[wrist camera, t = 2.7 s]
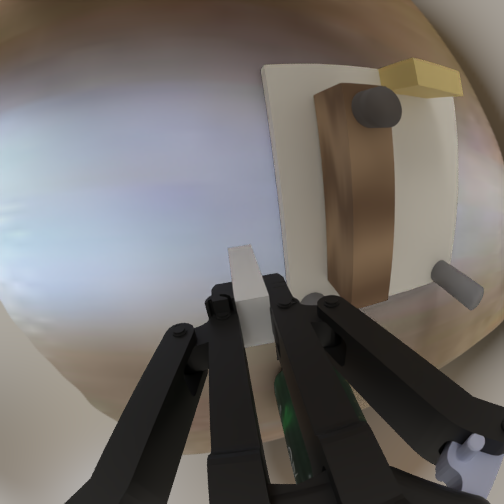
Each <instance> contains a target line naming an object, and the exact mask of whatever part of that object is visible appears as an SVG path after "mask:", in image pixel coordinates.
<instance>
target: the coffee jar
mask: <svg viewBox="0 0 504 504" xmlns="http://www.w3.org/2000/svg"><path fill="white" fill-rule="evenodd" d="M333 368H334V367H333ZM334 370H335V372H336V374H337V377H338V379H339V381H340V383H341V385H342V387H343V389H344V391H345V393H346V395H347V397H348V399H349V401H350V403H351V405H352V407H353V409H354V411H355V413H356V415H357V417H358V419H359V420H360V421H365V422H366V423H367V421H366V419H365V417H364V415H363V413H362V411H361V408H360V406H359V404H358V402H357V400H356V398H355V396H354V393H353V391H352V389H351V387H350V385H349V383H348V381H347V380H346V379H345V378H344V377H343V376H342V375H341V374H340V373H339V372H338V371H337V370H336V369H335V368H334ZM274 390H275V396H276V401H277V405H278V410H279V414H280V418H281V422H282V426H283V430H284V435H285V439H286V444H287V448H288V453H289V457H290V461H291V466H292V469H293V473H294V477H295V481H296V484H299V483H302V482H304V481H306V480H308V479H310V478H312V477H313V473H312V467H311V463H310V460H309V457H308V453H307V450H306V447H305V443H304V440H303V437H302V433H301V430H300V427H299V423H298V420H297V417H296V414H295V410H294V407H293V404H292V400H291V397H290V394H289V390H288V387H287V384H286V380H285V377H284V374H283V370H282V371H281V372H280V373H279V374H278V375H277V376H276V378H275V382H274Z"/></svg>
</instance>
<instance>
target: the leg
mask: <svg viewBox="0 0 504 504" xmlns="http://www.w3.org/2000/svg"><path fill="white" fill-rule="evenodd" d="M313 97H314V104H315V111H316V118H317V126H318V134H319V143H320V152H321V162H322V173H323V185H324V199H325V216H326V237H327V277H328V281H329V282H330V284H331V285H332V286H333V288H334V289H335V290H336V291H337V293H338V294H339V295H340V297H342V298H344V299H345V300H346V301H348V302H349V303H351V304H352V305H353V306H355V307H356V308H357V309H358V308H362V307H365V306H369V305H372V304H376V303H379V302H383V301H386V300H388V295H389V287H390V279H391V269H392V258H393V244H394V224H395V170H394V150H393V137H392V127H394V126H395V125H397V124H398V122H399V121H400V119H401V116H402V107H401V103H400V100H399V98H398V97H397V95H396V94H395V93H394V92H393V91H392V90H390V89H389V88H387V87H386V86H379V85H369V84H357V83H339V84H337V85H334V86H332V87H330V88H328V89H326V90H323V91H321V92H319V93H317V94H315V95H313Z"/></svg>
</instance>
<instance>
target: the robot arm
mask: <svg viewBox="0 0 504 504" xmlns="http://www.w3.org/2000/svg"><path fill="white" fill-rule="evenodd" d="M228 253H229V262H230V270H231V277H232V282H228V283H223V284H217V285H215V286H214V287H213V289H212V296H210V297H208V298H207V299H206V301H205V306H206V310H207V313H208V317H209V321H208V322H207V323H205V324H204V325H201V326H199V327H196V328H194V327H193V326H192V325H191V324H188V323H179V324H176V325H173V326H172V327H170V328H169V329H168V330H167V331H166V333H165V335H164V337H163V339H162V340H161V342H160V344H159V346H158V348H157V349H156V351H155V353H154V355H153V357H152V358H151V360H150V362H149V364H148V366H147V368H146V369H145V371H144V373H143V375H142V377H141V379H140V381H139V383H138V384H137V386H136V388H135V390H134V392H133V394H132V396H131V398H130V400H129V402H128V403H127V405H126V407H125V409H124V411H123V413H122V415H121V417H120V419H119V421H118V423H117V425H116V427H115V429H114V431H113V433H112V435H111V437H110V439H109V441H108V443H107V445H106V447H105V449H104V451H103V453H102V455H101V457H100V460H99V462H98V464H97V466H96V468H95V471H94V472H93V474H92V477H91V479H89V480H88V481H87V482H86V483H85V484H84V485H83V486H82V488H80V489H79V490H78V491H77V492H76V493H75V494H74V495H73V496H72V497H71V498H70V499H69V500H68V501H67V502H66V503H65V504H167V501H168V498H169V495H170V492H171V488H172V485H173V482H174V479H175V475H176V472H177V469H178V466H179V463H180V459H181V456H182V453H183V450H184V447H185V443H186V440H187V437H188V434H189V431H190V427H191V424H192V421H193V418H194V415H195V412H196V408H197V405H198V402H199V399H200V396H201V393H202V389H203V386H204V383H205V380H206V377H207V374H208V369H209V404H210V432H211V454H210V455H208V458H207V472H208V489H209V503H210V504H490V503H489V502H488V501H487V500H486V499H487V496H488V495H489V492H490V490H491V488H492V486H493V483H494V481H495V478H496V476H497V473H498V471H499V468H500V465H501V462H502V459H503V456H504V407H502V406H499V405H496V404H493V403H489V402H487V401H484V400H481V399H478V398H476V397H473V396H472V395H470V394H469V393H468V392H466V391H465V390H464V389H463V388H461V387H460V386H459V385H457V384H456V383H455V382H453V381H452V380H451V379H450V378H449V377H447V376H446V375H445V374H443V373H442V372H441V371H440V370H438V369H437V368H436V367H434V366H433V365H432V364H430V363H429V362H428V361H427V360H425V359H424V358H423V357H421V356H420V355H419V354H417V353H416V352H415V351H413V350H412V349H411V348H409V347H408V346H407V345H405V344H404V343H403V342H402V341H400V340H399V339H398V338H396V337H395V336H394V335H392V334H391V333H390V332H388V331H387V330H386V329H384V328H383V327H382V326H380V325H379V324H378V323H376V322H375V321H373V320H372V319H371V318H369V317H368V316H367V315H365V314H364V313H363V312H361V311H360V310H359V309H357V308H356V307H355V306H353V305H352V304H351V303H349V302H348V301H346V300H345V299H344V298H342V297H340V296H336V295H327V296H323V297H322V298H320V299H319V300H318V301H317V305H303V304H301V303H300V302H299V300H298V299H297V298H294V297H293V296H292V294H291V292H290V290H289V288H288V286H287V284H286V282H285V280H284V278H283V276H281V275H280V274H278V273H275V274H269V275H264V276H262V275H261V272H260V269H259V266H258V263H257V261H256V258H255V255H254V252H253V249H252V247H251V244H249V245H244V246H238V247H232V248H228ZM274 339H275V341H274ZM273 342H275V343H276V352H277V360H280V364H281V367H282V370H283V374H284V377H285V380H286V384H287V387H288V390H289V394H290V397H291V400H292V404H293V407H294V410H295V414H296V417H297V420H298V423H299V427H300V430H301V433H302V437H303V440H304V443H305V447H306V450H307V453H308V457H309V460H310V463H311V467H312V473H313V477H312V478H310V479H308V480H306V481H304V482H302V483H299V484H271V483H270V479H269V475H268V470H267V465H266V460H265V455H264V450H263V445H262V440H261V434H260V429H259V424H258V418H257V413H256V408H255V402H254V397H253V391H252V385H251V380H250V374H249V368H248V362H247V357H246V352H245V348H247V347H252V346H258V345H263V344H268V343H273ZM333 367H334V368H335V369H336V370H337V371H338V372H339V373H340V374H341V375H342V376H343V377H344V378H345V379H346V380H347V381H348V383H349V384H350V385H351V386H352V387H353V388H354V389H355V390H356V391H357V392H358V393H359V394H360V395H361V396H362V397H363V398H364V399H365V400H366V401H367V403H368V404H369V405H370V406H371V407H372V408H373V409H374V410H375V411H376V412H377V413H378V414H379V415H380V416H381V417H382V418H383V419H384V420H385V421H386V422H387V423H388V424H389V425H390V426H391V427H392V428H393V429H394V430H395V431H396V433H397V434H398V435H400V437H401V438H402V439H404V441H405V442H406V443H407V444H408V445H409V446H410V447H411V448H412V449H413V450H414V451H415V452H417V453H418V454H419V455H420V456H421V457H422V458H424V459H426V460H427V461H429V462H430V463H432V464H434V465H436V469H435V470H436V474H435V475H436V479H437V480H438V481H443V482H444V483H445V484H446V485H447V487H446V486H443V485H440V484H437V483H434V482H431V481H428V480H425V479H423V478H420V477H417V476H414V475H412V474H410V473H407V472H405V471H402V470H400V469H397V468H395V467H392V466H389V464H388V462H387V460H386V458H385V456H384V454H383V452H382V450H381V448H380V446H379V444H378V442H377V440H376V438H375V436H374V434H373V432H372V430H371V428H370V426H369V425H368V423H366V422H365V421H360V420H359V419H358V417H357V415H356V413H355V411H354V409H353V407H352V405H351V403H350V401H349V399H348V397H347V395H346V393H345V391H344V389H343V387H342V385H341V383H340V381H339V379H338V377H337V374H336V372H335V370H334V368H333Z"/></svg>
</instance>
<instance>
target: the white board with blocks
mask: <svg viewBox="0 0 504 504" xmlns="http://www.w3.org/2000/svg"><path fill="white" fill-rule="evenodd" d="M261 76H262V82H263V89H264V95H265V102H266V109H267V116H268V123H269V130H270V137H271V145H272V152H273V160H274V168H275V176H276V185H277V193H278V202H279V211H280V220H281V229H282V239H283V249H284V259H285V270H286V281H287V286H288V288H289V290H290V292H291V294H292V296H293V297H294V298H297V299H298V300H299V302H300V303H301V304H303V305H317V301H318V300H319V299H320V298H322V297H323V296H327V295H336V296H340V295H339V294H338V293H337V291H336V290H335V289H334V288H333V286H332V285H331V284H330V282H329V281H328V277H327V237H326V216H325V199H324V185H323V173H322V162H321V152H320V143H319V134H318V126H317V118H316V111H315V104H314V97H313V95H315V94H317V93H319V92H321V91H323V90H326V89H328V88H330V87H332V86H334V85H337V84H339V83H357V84H369V85H379V86H386V87H387V88H389V89H390V90H392V91H393V92H394V93H395V94H396V95H397V97H398V98H399V100H400V103H401V107H402V116H401V119H400V121H399V122H398V124H397V125H395V126H394V127H392V137H393V150H394V170H395V224H394V244H393V258H392V269H391V279H390V287H389V295H388V296H391V295H395V294H398V293H401V292H405V291H408V290H411V289H414V288H417V287H420V286H423V285H426V284H429V283H432V282H435V283H437V284H438V285H439V286H441V287H442V288H443V289H444V290H446V291H447V292H448V293H450V294H451V295H452V296H453V297H454V298H456V299H457V300H458V301H459V302H461V303H462V304H463V305H464V306H466V307H467V308H468V309H469V310H473V309H474V308H476V307H477V306H478V304H479V303H480V301H481V299H482V297H483V294H484V288H483V287H482V286H481V285H479V284H478V283H476V282H475V281H473V280H472V279H471V278H469V277H468V276H466V275H465V274H463V273H462V272H460V271H459V270H457V269H456V268H454V267H453V266H451V265H450V261H451V255H452V249H453V242H454V234H455V224H456V213H457V199H458V141H457V127H456V116H455V107H454V100H453V97H455V96H463V92H462V86H461V80H460V75H459V71H456V70H453V69H450V68H447V67H444V66H441V65H438V64H435V63H431V62H428V61H424V60H421V59H417V58H410V59H407V60H403V61H400V62H397V63H394V64H391V65H388V66H385V67H383V68H380V69H374V68H366V67H357V66H345V65H330V64H271V65H264V66H263V67H262V69H261Z"/></svg>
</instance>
